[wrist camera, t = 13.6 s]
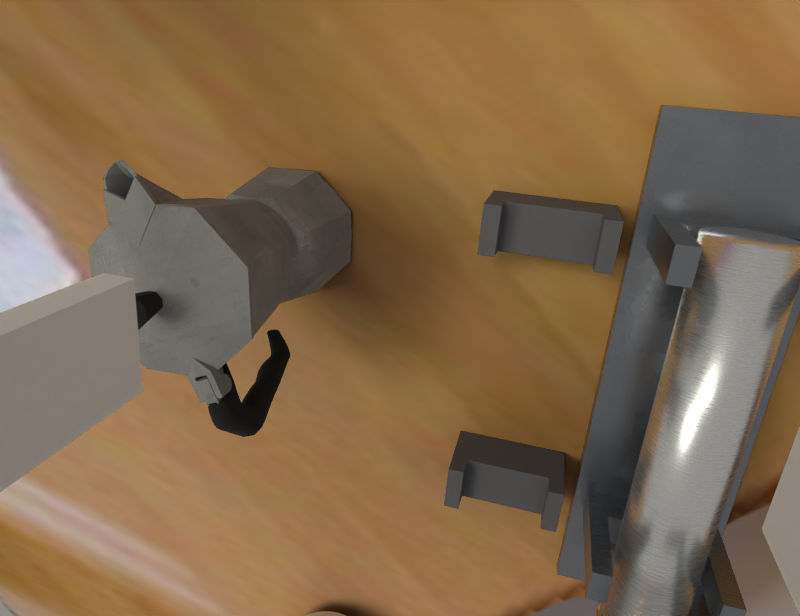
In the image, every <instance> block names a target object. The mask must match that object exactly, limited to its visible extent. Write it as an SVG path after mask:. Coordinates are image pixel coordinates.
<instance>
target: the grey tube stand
mask: <svg viewBox="0 0 800 616" xmlns="http://www.w3.org/2000/svg"><path fill="white" fill-rule="evenodd" d="M703 227H731V228H740V229H747V230H754V231H759V232H765V233H770V234H774V235H778V236H782V237H786V238H790V239H793V240H796V241H799V242H800V117H789V116H778V115H766V114H755V113H744V112H733V111H722V110H710V109H699V108H688V107H677V106H666V105H661V107H660V111H659V115H658V120H657V124H656V129H655V133H654V138H653V142H652V146H651V151H650V155H649V160H648V164H647V169H646V173H645V178H644V182H643V186H642V191H641V195H640V200H639V204H638V209H637V213H636V217H635V222H634V226H633V231H632V235H631V240H630V244H629V249H628V253H627V257H626V262H625V266H624V271H623V275H622V280H621V284H620V288H619V293H618V297H617V302H616V306H615V311H614V315H613V320H612V324H611V328H610V333H609V337H608V342H607V346H606V351H605V355H604V359H603V364H602V368H601V373H600V377H599V382H598V386H597V390H596V395H595V399H594V404H593V408H592V413H591V417H590V422H589V426H588V430H587V435H586V439H585V444H584V448H583V453H582V457H581V461H580V466H579V470H578V475H577V479H576V484H575V488H574V493H573V497H572V501H571V506H570V510H569V515H568V519H567V524H566V528H565V532H564V537H563V541H562V546H561V550H560V555H559V559H558V564H557V574H558V575H562V576H566V577H570V578H574V579H578V580H582V581H585V590H586V598H589V599H592V600H596V601H600V602H604V603H607V599H608V595H609V592H610V588H611V584H612V581H613V568H612V557H613V554H614V550H615V546H616V542H617V539H618V535H619V531H620V527H621V523H622V520H623V516H624V512H625V508H626V504H627V501H628V497H629V493H630V489H631V486H632V482H633V478H634V474H635V470H636V467H637V463H638V459H639V455H640V451H641V448H642V444H643V440H644V436H645V433H646V429H647V425H648V421H649V417H650V414H651V410H652V406H653V402H654V398H655V395H656V391H657V387H658V383H659V380H660V376H661V372H662V368H663V364H664V361H665V357H666V353H667V349H668V345H669V342H670V338H671V334H672V330H673V327H674V323H675V319H676V315H677V311H678V308H679V304H680V300H681V296H682V292H683V289H684V287H687V288H692V286H693V282H694V278H695V274H696V271H697V267H698V263H699V260H700V256H701V252H702V249H703V248H702V246H701V245H700V244H699V243H698V242H697V241H696V239H697V236H698V232H699V229H700V228H703ZM799 312H800V285H799V288H798V291H797V294H796V297H795V300H794V303H793V305H792V308H791V311H790V314H789V317H788V320H787V323H786V326H785V329H784V332H783V335H782V338H781V341H780V344H779V347H778V350H777V353H776V356H775V359H774V362H773V365H772V368H771V371H770V374H769V377H768V380H767V383H766V386H765V389H764V392H763V395H762V398H761V401H760V404H759V406H758V409H757V412H756V415H755V418H754V421H753V424H752V427H751V430H750V433H749V436H748V439H747V442H746V445H745V448H744V451H743V454H742V457H741V460H740V463H739V466H738V469H737V472H736V475H735V478H734V481H733V484H732V487H731V490H730V493H729V496H728V499H727V502H726V505H725V507H724V510H723V513H722V516H721V519H720V522H719V525H718V528H717V531H716V534H715V537H714V540H713V543H712V546H711V549H710V552H709V555H708V558H707V561H706V564H705V567H704V570H703V573H702V576H701V579H700V582H699V585H698V588H697V591H696V594H695V597H694V600H693V603H692V606H691V608H690V611H689V614H688V616H745V614H746V608H745V605H744V602H743V599H742V596H741V593H740V590H739V587H738V584H737V581H736V579H735V576H734V573H733V570H732V567H731V564H730V561H729V558H728V555H727V552H726V550H725V547H724V544H723V541H722V536H723V533H724V530H725V527H726V524H727V521H728V518H729V515H730V513H731V510H732V507H733V504H734V501H735V498H736V495H737V492H738V489H739V486H740V484H741V481H742V478H743V475H744V472H745V469H746V466H747V463H748V460H749V457H750V455H751V452H752V449H753V446H754V443H755V440H756V437H757V434H758V431H759V428H760V425H761V423H762V420H763V417H764V414H765V411H766V408H767V405H768V402H769V399H770V396H771V394H772V391H773V388H774V385H775V382H776V379H777V376H778V373H779V370H780V367H781V365H782V362H783V359H784V356H785V353H786V350H787V347H788V344H789V341H790V338H791V335H792V333H793V330H794V327H795V324H796V321H797V318H798V315H799Z"/></svg>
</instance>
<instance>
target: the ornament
mask: <svg viewBox="0 0 800 616" xmlns="http://www.w3.org/2000/svg"><path fill="white" fill-rule="evenodd" d="M305 616H346V615H344V614H341V613H337V612H331V611H320V612H314V613H310V614H307V615H305Z"/></svg>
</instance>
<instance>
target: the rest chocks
mask: <svg viewBox="0 0 800 616" xmlns="http://www.w3.org/2000/svg"><path fill="white" fill-rule="evenodd" d="M623 224H624V220H623V218H622V216H621V214H620V211H619V209H618V207H617V206H615V205H607V204H599V203H591V202H582V201H574V200H566V199H558V198H550V197H542V196H534V195H526V194H518V193H510V192H502V191H493V192H492V194H491V195H490V196H489V198H488V199H487V200H486V202H485V203H484V208H483V216H482V223H481V231H480V238H479V246H478V253H477V255H483V256H490V257H495V255H496V252H497V251H501V252H508V253H515V254H522V255H528V256H535V257H542V258H549V259H556V260H563V261H570V262H576V263H583V264H590V265H593V269H594V272H598V273H605V274H612V275H613V270H614V265H615V261H616V256H617V252H618V247H619V243H620V238H621V233H622V229H623ZM564 460H565V453H563V452H558V451H553V450H549V449H544V448H539V447H535V446H530V445H525V444H520V443H516V442H511V441H506V440H501V439H497V438H492V437H487V436H483V435H478V434H473V433H468V432H464V431H461V432H460V435H459V439H458V442H457V445H456V448H455V451H454V454H453V458H452V461H451V464H450V467H449V472H448V479H447V487H446V494H445V502H444V505H445V506H449V507H453V508H457V509H458V508H459V504H460V500H461V497H462V496H467V497H471V498H475V499H479V500H484V501H488V502H492V503H496V504H501V505H505V506H509V507H513V508H518V509H522V510H526V511H531V512H535V513H539V514H542V518H541V529H545V530H549V531H553V532H556V530H557V526H558V521H559V516H560V512H561V507H562V503H563V498H564Z"/></svg>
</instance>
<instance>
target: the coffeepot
mask: <svg viewBox="0 0 800 616" xmlns="http://www.w3.org/2000/svg"><path fill="white" fill-rule="evenodd" d="M103 179H104V184H105V189H104V190H103V191H104V198H105V205H106V212H107V219H108V225H107V226H106V227H105V229H104V230H103V231H102V232H101V234H100V235H99V236H98V237H97V239H96V240H95V241H94V242H93V244H92V245H91V246H90V247H89V248H88V251H89V258H90V265H91V272H92V277H94V276H97V275H100V274H102V273H106V274H112V275H117V276H123V277H128V278H134V285H135V297H136V310H137V322H138V334H139V347H140V359H141V363H142V364H143V365H144V366H145V367H146V368H147V369H153V370H159V371H165V372H171V373H177V374H183V375H189V377H188V378H189V380H190V382H191V384H192V386H193V388H194V390H195V392H196V394H197V397H198V399H199V401H200V403H202V402H206V403H207V405H208V408H209V412H210V416H211V418H212V421H213V423H214V425H215V426H216V428H218V429H220V430H223V431H226V432H230V433H233V434H236V435H239V436H243V437H245V436H251V435H255V434H256V433H257V432H258V431H259V430H260V429H261V427H262V426H263V424H264V422H265V419H266V416H267V413H268V411H269V408H270V405H271V403H272V400H273V398H274V395H275V393H276V391H277V388H278V386H279V384H280V381H281V378H282V376H283V373H284V371H285V368H286V365H287V362H288V360H289V358H290V352H289V349H288V346H287V344H286V342H285V340H284V339H283V337H282V335H281V333H280V332H279V331H278V330H270V331H268V332H267V334H268V337H269V342H270V347H271V356H270V358H268V359H267V360H266V361H265V362H264V363H263V365H262V366H261V368H260V369H259V371H258V374H257V379H256V382H255V383H254V384H253V386H252V387H251V388H250V390H249V391H248V393H247V395H246V396H245V398H244V399H243V401H242V403H241V401H240V399H239V396H238V393H237V390H236V387H235V383H234V380H233V378H232V375H231V373H230V371H229V368H228V366H227V363H226V362H228V361H229V360H230V359H231V358H232V357H233V356H234V355H235V354H236V353H237V352H239V351H240V350H241V349H242V348H243V347H244V346H245V345H246V344H247V343H248V342H249V341H251V340H252V339H253V336H254V335H255V334H256V332H257V331H258V330H259V329H260V327H261V326H262V325H263V324H264V323H265V321H266V320H267V319H268V318H269V316H270V315H271V314H272V313H273V311H274V310H275V309H276V308H277V306H278V305H279V304H280V303H283V302H286V301H289V300H292V299H295V298H298V297H301V296H304V295H307V294H310V293H313V292H316V291H318V290H319V289H320V288H321V287H322V286H324V285H325V284H326V283H327V282H328V281H329V280H330V279H331V278H332V277H334V276H335V275H336V274H337V273H338V272H339V271H340V270H341V269H342V268H344V267H345V266H346V265H347V264H348V263H349V262H350V261H351V242H352V228H351V210H350V209H349V208H348V207H347V206H346V204H345V203H344V202H343V201H342V199H341V198H340V196H339V195H338V194H337V192H336V191H335V190H334V189H333V188H332V187H331V186H330V185H329V184H328V183H327V182H325V181H324V180H323V178H322V177H321V176H320V175H319V174H318V173H317V171H307V170H298V169H280V168H267V169H266V170H264V171H263V172H261V173H260V174H259V175H257V176H256V177H254V178H253V179H251V180H250V181H249V182H247V183H246V184H244V185H243V186H242V187H240V188H239V189H237V190H236V191H234V192H233V193H232V194H230V195H229V196H228V197H227V198H226V199H213V198H200V199H182V198H180V197H178V196H176V195H175V194H173V193H171V192H169V191H167V190H165V189H163V188H161V187H160V186H158V185H156V184H154V183H152V182H150V181H149V180H147V179H145V178H143V177H142V176H140V175H138V174H136V173H135V172H134V171H133V169H132V168H131V167H130V166H129V165H128V164H127V163H126V162H125V161H124V160H120V161H118V162H116V163H114V164H112V165H111V166H110V167H109V169H108V170H107V172H106V173H105V176H104V178H103Z"/></svg>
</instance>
